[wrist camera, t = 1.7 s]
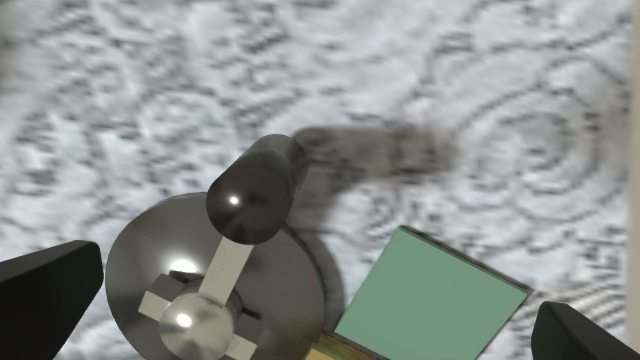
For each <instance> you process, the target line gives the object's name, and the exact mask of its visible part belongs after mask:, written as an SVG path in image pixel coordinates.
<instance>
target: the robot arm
mask: <svg viewBox="0 0 640 360" xmlns="http://www.w3.org/2000/svg"><path fill="white" fill-rule="evenodd" d="M103 280H104V272H103V266H102V259H101V253H100V248H99V246H98V244H97V243H95V242H92V241H84V240H75V241H71V242H68V243H64V244H61V245H57V246H54V247H50V248H47V249H44V250H40V251H37V252H33V253H30V254H26V255H23V256H19V257H16V258H13V259H9V260H6V261H2V262H0V360H53V359H54V357H55V356H56V355H57V353H58V352H59V351H60V349H61V348H62V346H63V345H64V344H65V342H66V341H67V339H68V338H69V336H70V335H71V333H72V332H73V330H74V328H75V327H76V325H77V324H78V322H79V321H80V319H81V317H82V316H83V314H84V313H85V311H86V310H87V308H88V307H89V305H90V303H91V302H92V300H93V299H94V297H95V296H96V294H97V293H98V291H99V289H100V288H101V286H102V283H103ZM531 350H532V355H533V360H640V354H638V353H637V352H635V351H634V350H633V349H631V348H630V347H628V346H627V345H625V344H624V343H623V342H621V341H620V340H618V339H617V338H615V337H614V336H612V335H611V334H610V333H608V332H607V331H605V330H604V329H602V328H601V327H600V326H598V325H597V324H595V323H594V322H592V321H591V320H590V319H588V318H587V317H585V316H584V315H582V314H581V313H579V312H578V311H577V310H575V309H574V308H572V307H571V306H569V305H568V304H565V303H558V302H551V301H545V302H543V303H542V304H541V306H540V308H539V311H538V315H537V318H536V322H535V325H534V329H533V333H532V337H531Z"/></svg>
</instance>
